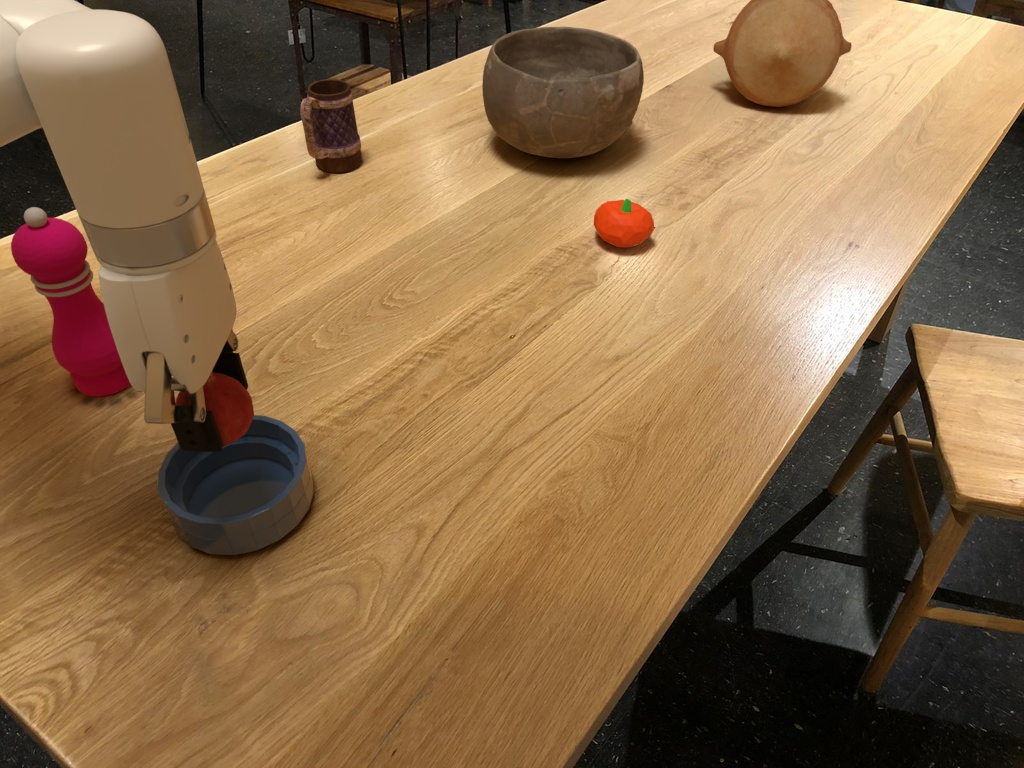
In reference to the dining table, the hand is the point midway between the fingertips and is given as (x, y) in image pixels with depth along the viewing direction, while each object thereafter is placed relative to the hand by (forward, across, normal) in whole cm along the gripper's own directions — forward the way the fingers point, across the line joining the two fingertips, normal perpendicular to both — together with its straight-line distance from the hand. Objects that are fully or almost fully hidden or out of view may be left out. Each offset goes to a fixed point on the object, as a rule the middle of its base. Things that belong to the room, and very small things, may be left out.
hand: (216, 416), depth 62 cm
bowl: (+11, -73, +29) cm, 79 cm away
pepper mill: (+11, -16, -19) cm, 27 cm away
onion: (+3, 0, 0) cm, 3 cm away
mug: (+11, -63, -5) cm, 64 cm away
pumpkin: (+11, -46, +37) cm, 60 cm away
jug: (+11, -101, +69) cm, 123 cm away
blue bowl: (+11, 0, 0) cm, 11 cm away
